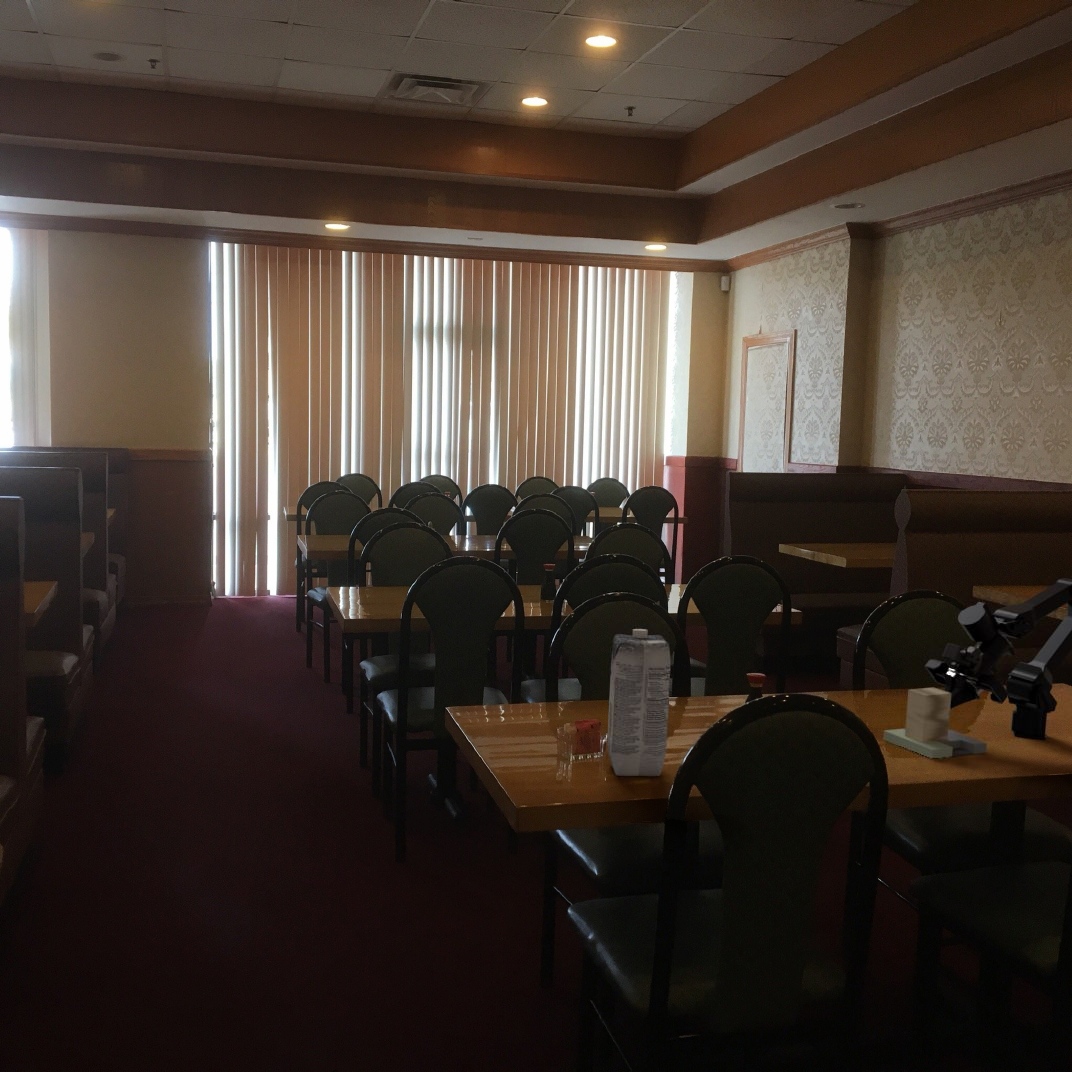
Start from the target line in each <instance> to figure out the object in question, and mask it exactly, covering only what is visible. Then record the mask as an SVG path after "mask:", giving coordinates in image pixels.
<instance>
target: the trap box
mask: <svg viewBox="0 0 1072 1072" xmlns="http://www.w3.org/2000/svg"><path fill="white" fill-rule="evenodd" d="M882 738H883V741H885V742H888V743H890V744H893V745H895V746H898V747H900V746H901V748H903V747H904V748H903V749H905V748H907V749H908V751H910V750H911V751H910V752H912V751H914V752H913V753H915V752H917V753H919V754H918V755H920V754H921V755H920V756H922V755H924V756H923V757H925V756H927V757H930V758H939V759H943V758H942V757H946V758H953V757H952V756H954V757H961V756H960V755H962V756H967V755H966V754H970V755H977V754H984V753H986V752H987V747H988V746H987V745H988V743H987V742H985V741H982V740H979V739H976V738H974V737H971V736H968V735H966V734H963V733H961V732H957V731H955V730H952V729H949V728H948V740H941V741H932V742H923V743H922V742H919V741H917V740H914V739H912V738H909V737H907V736H905V728H897V729H887V730H883V737H882ZM907 749H906V750H907ZM917 753H916V754H917ZM950 756H951V757H950ZM927 757H926V758H927ZM930 758H929V759H930Z"/></svg>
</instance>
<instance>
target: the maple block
mask: <svg viewBox="0 0 1072 1072" xmlns="http://www.w3.org/2000/svg"><path fill="white" fill-rule="evenodd" d="M950 704H951V693H949V692H946V691H945V690H943V689H940V688H936V687H924V688H913V689H912V688H911V689H908V693H907V703H906V717H905V719H906V720H905V727H904V729H905V736H907V737H909V738H912V739H914V740H917V741H919V742H922V743H923V742H932V741H941V740H948V729H949V728H950V727H949V726H950V725H949V724H950V714H951V709H950Z"/></svg>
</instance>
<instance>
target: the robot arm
mask: <svg viewBox="0 0 1072 1072" xmlns="http://www.w3.org/2000/svg"><path fill="white" fill-rule="evenodd" d="M1065 605H1066V607H1067V608H1066V609H1067V614H1066V616H1065V618H1063V620H1062V622H1061V623H1060V624H1059V625H1058V627H1057V628H1056V629H1055V631H1054V632H1053V633H1052V635H1051V636H1050V637H1049V638H1048V640H1047V641H1046V642H1045V644H1044V646H1043V647H1042V648H1041V649H1040V650H1039V652H1038V653H1037V654H1036V655H1035V657H1034V658H1033V660H1032V661H1030V662H1028V663H1026V662H1023V661H1019V662H1018V663H1016V665H1015V667H1014V668H1013V669H1012V671H1011V672H1009V673H1008V676H1009V677H1008V678H1007V680H1006V682H1005V686H1004V684H1003V682H1002V681H1001V680H1000V679H999V677H997V676H995V674H996V673H997V671H998V670H997V669H996V665H998V664H999V663H1000V661H1001V659H1003V657H1005V655H1009V656H1015V652H1016V651H1015V648H1014V646H1015V645H1014V644H1015V643H1014V642H1012V641H1009V640H1008V638H1007V637H1009V638H1013V639H1017V640H1018V639H1019V640H1022V639H1025V638H1026V637H1028V635H1030V634H1031V633H1032V632H1033V631H1034V630H1035V629H1036V627H1037V623H1038V622H1039V621H1040V620H1042V619H1044V617H1047V616H1048V615H1050V614H1052V613H1053V612H1055V611H1056V610H1058V609H1060V608H1061V607H1064V606H1065ZM957 617H958V618H957V619H958V623H960V625H961V626H962V628H963V630H964V631H965V632H966V634H967V635H968V636H969V637H968V638H970V640H971V641H973V642H976V644H975V645H974V646H969V647H963V646H961V645H957V644H953V643H950V642H948V643H947V644H946V645H945V648H944V651H943V653H942V655H941V657H942V658H943V659H947V660H949V661H951V665H950V666H952V667H953V668H955V669H953V668H950V666H949V665H948V663H947V662H946V661H941V660H939V659H935V658H934V659H933V658H932V659H929V660H928V661H927V663H926V664H925V665H924V668H925V669H926V671H927V672H928V674H929V675H930V676H931V678H932V679H933V680H934V682H935V683H937V684H938V685H941V686H944V691H946V692H949V693H951V704H950V710H952V709H953V708H957V707H958V706H961V705H963V704H966V703H968V702H972V701H974V700H980V699H981V697H980V695H981V693H982V692H984V691H986V692H990V695H989V696H990V700H991V702H994V703H997V704H1000V705H1002V704H1003V703H1004V702H1005V701H1006V700H1008V703H1009V704H1012V705H1015V708H1014V709H1015V710H1014V709H1013V710H1012V712H1011V719H1010V720H1011V723H1010V730H1011V732H1012V733H1013V736H1016V737H1022V738H1031V739H1032V738H1033V739H1038V740H1040V739H1041V740H1047V736H1046V735H1047V734H1046V731H1047V728H1046V727H1047V718H1048V714H1051V713H1052V712H1053V713H1054V712H1055V711H1056V708H1057V705H1058V701H1057V700H1056V699H1055V697H1054V696H1053V694H1052V692H1051V690H1052V689H1053V675H1054V673H1055V672H1056V671H1057V669H1058V668H1059V667H1060V665H1061V664H1062V663H1063V661H1064V660H1065V659H1066V658H1067V656H1068V655H1069V654H1070V652H1071V651H1072V578H1071V579H1069V578H1059V579H1058V580H1056V582H1055V583H1054V584H1052V585H1051V586H1049V587H1047V588H1046V589H1044V590H1042V591H1041V592H1039V593H1037V594H1035V595H1034V596H1031V597H1030V598H1028V599H1027V600H1026V601H1024V602H1021V603H1016V604H1011V605H1010V604H1008V605H1006V606H1004V607H1000V608H998V609H997V610H995V611H994V612H993V613H992V611H991V609H990V608H989V606H988V604H987V603H985V602H980V601H978V602H977V603H976V604H975V605H970V606H968V607H967V608H964V609H963V610H961V611H960V612H959V614H958V616H957ZM990 674H992V675H990Z"/></svg>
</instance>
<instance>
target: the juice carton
mask: <svg viewBox="0 0 1072 1072" xmlns="http://www.w3.org/2000/svg"><path fill="white" fill-rule="evenodd" d="M671 650H672V649H671V645H670V644H669V642H668V641H667V640H666V639H665V638H664V637H663V636H662V635H659V634H656V635H655V634H653V635H648V629H643V628H635V629H632V635H630V634H621V633H619V634H615V635H614V637H613V641H612V652H611V660H610V661H611V663H610V679H609V681H610V682H609V683H610V684H609V701H608V704H609V705H608V722H607V753H608V759H609V761H610V765H611V767H612V769H613V771H614V773H615V776H617V777H618V776H619V777H660V776H661V774H662V771H663V768H664V765H665V764H664V763H665V759H666V753H667V739H668V738H667V737H668V723H669V722H668V720H669V719H668V718H669V705H670V704H669V703H670V700H669V699H670V685H671V684H670V681H671Z"/></svg>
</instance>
